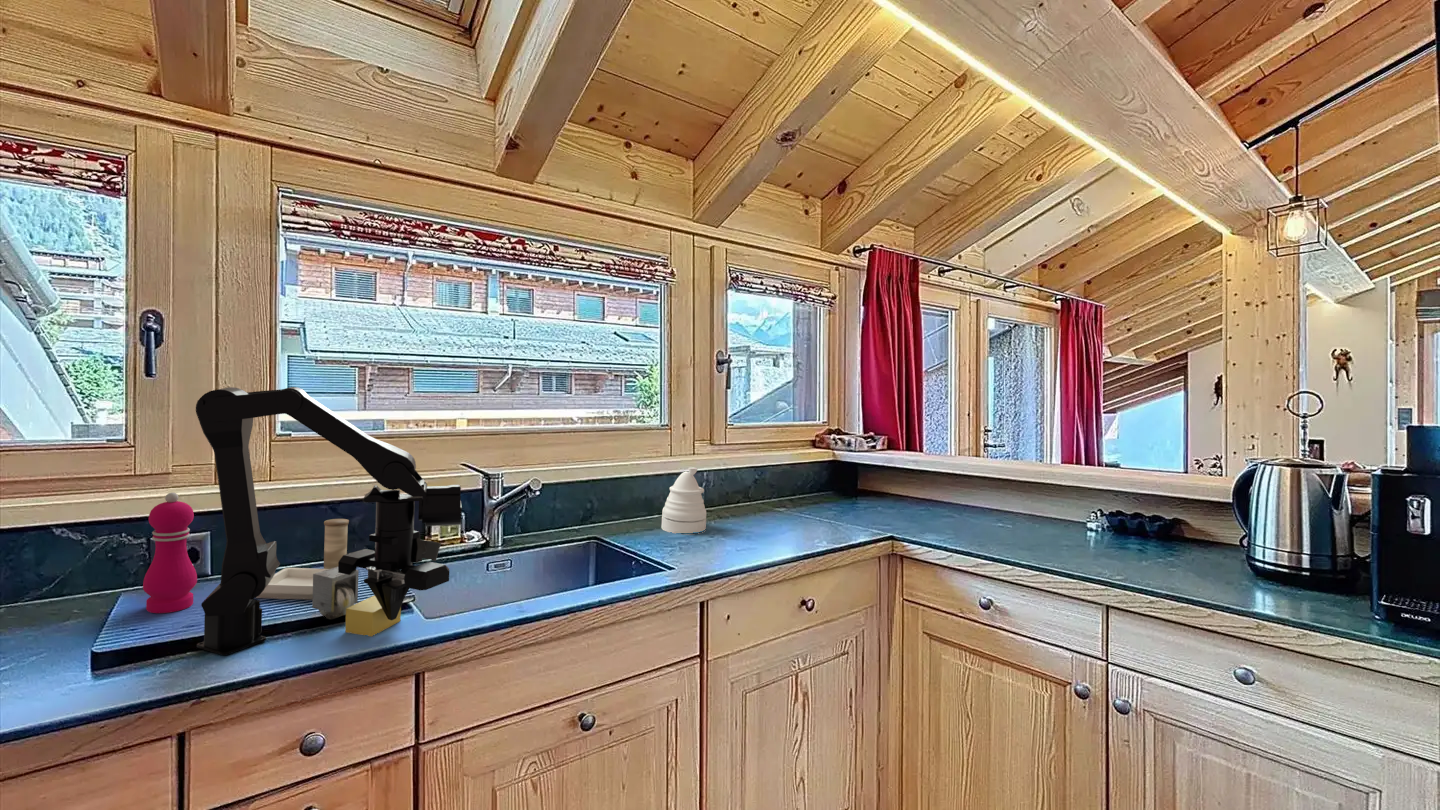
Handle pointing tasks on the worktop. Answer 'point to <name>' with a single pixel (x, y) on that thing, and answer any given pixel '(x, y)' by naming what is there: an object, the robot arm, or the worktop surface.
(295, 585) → the tray
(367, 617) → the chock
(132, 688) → the worktop surface
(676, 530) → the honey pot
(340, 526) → the pin
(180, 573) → the pepper mill
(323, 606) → the wheel bracket
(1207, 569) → the worktop surface
